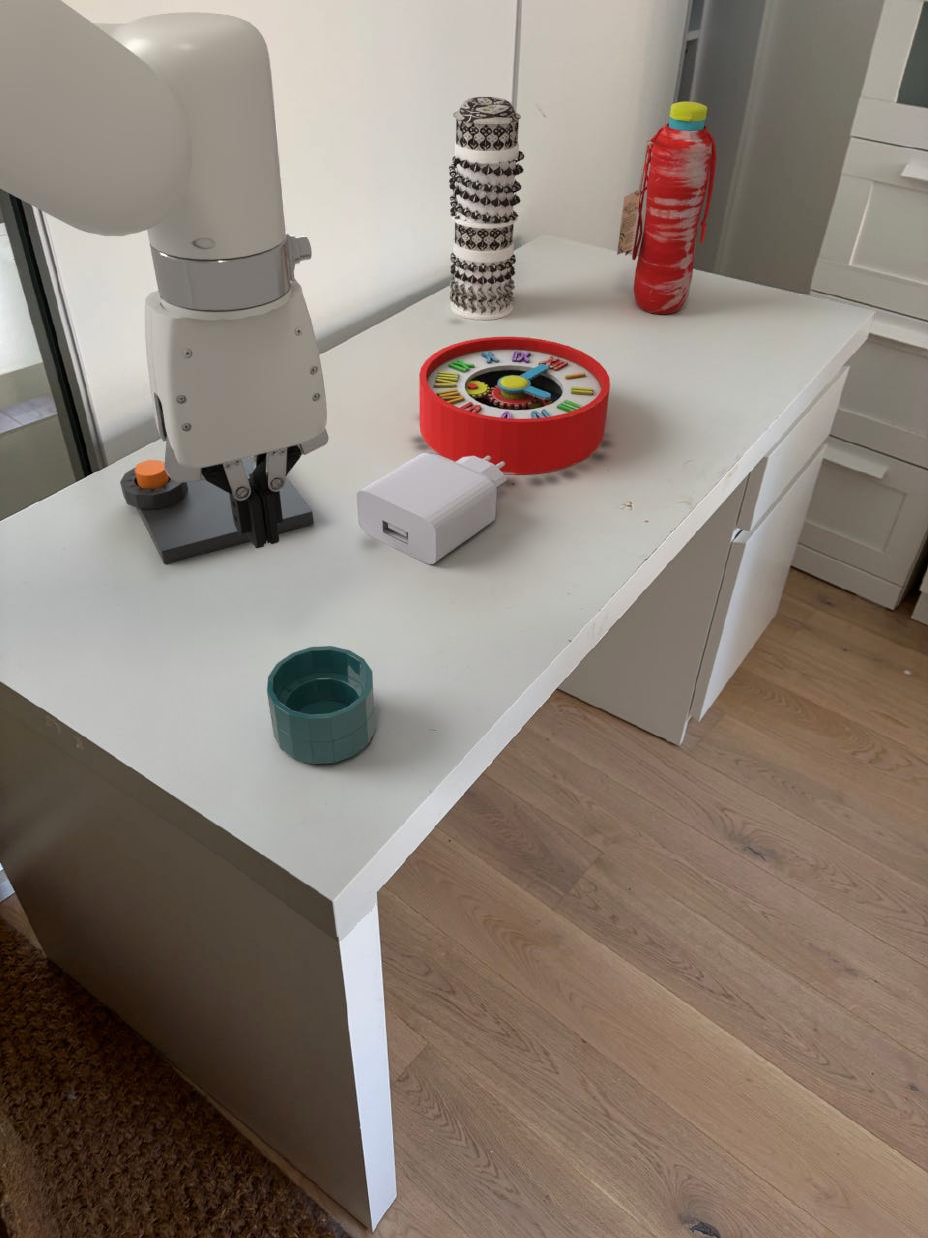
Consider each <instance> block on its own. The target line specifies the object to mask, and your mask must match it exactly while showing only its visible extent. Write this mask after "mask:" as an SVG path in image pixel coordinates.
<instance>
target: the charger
mask: <svg viewBox="0 0 928 1238" xmlns="http://www.w3.org/2000/svg"><path fill="white" fill-rule="evenodd" d="M489 460H491V457H490V456H486V457H485V458H483V459H480V458H478V457H476V456H468V457H463V458H461V459H459V460H458V461H456V462H454V461H452V460H449V459H447V458H445V457H443V456H441V455H439V454H435V453H429V452H422V453H420V454H419V455H418V454H417V455H416V456H415V457H413V458H411V459H410V460H408V461H406V462H405V463H403V464H401V465H399V466H398V467H396V468H395V469H393V470H391V471H390V472H388V473H387V474H385V475H383V476H382V477H379V478H378V479H376V480H375V481H373V482H372V483H370V484H369V485H367V486H364V487H363V488H362V489H360V490H359V491H357V492H356V504H357V505H356V507H357V523H358V526H359V527H360V529H361V530H362V532H364V533H365V534H367V535H368V536H370V537H371V538H373V539H375V540H377V541H379V542H382V543H383V544H386V545H387V546H389V547H391V548H394V549H395V550H397V551H399V552H401V553H403V554H406V555H407V556H410V557H411V558H412V559H413V558H414V559H415V560H418V561H420V562H421V563H424V564H428V565H434V564H436V563H437V562H439V560H441V559H443V558H444V557H445V556H447V555H448V554H449V553H451V552H452V551H454V550H455V549H456V548H458V547H459V546H461V545H462V544H464V543H465V542H466V541H468V540H469V539H470V538H472V537H473V536H475V535H476V534H477V533H479V532H480V531H481V530H483V529H484V528H486V527H487V526H488V525H490V524H491V523H493V522H494V521H495V520H496V513H497V512H496V511H497V494H498V493H497V488H498V487H499V486H500V485H502V484H503V483H505V482H507V480H508V479H507V476H506V474H503V473H502V472H501V471H500V470H499V469H500V468H501V467H503V466H504V465H505V463H504V462H500V463H499V464H497V465H494V464H492V463H490V462H488V461H489Z"/></svg>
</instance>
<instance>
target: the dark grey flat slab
mask: <svg viewBox="0 0 928 1238" xmlns="http://www.w3.org/2000/svg"><path fill="white" fill-rule="evenodd" d="M241 460H242V463H243V466H244V469H245V472H246V476H247V479H249V478H250V477H249V474H251V473H252V472H253V471H254V470H255V469H254V456H251V457H247V458H243V459H241ZM168 477H169V475H168ZM119 483H120V488H121V492H122V497H123V498H124V500H125V502H126V504H127V505H129V506H132V507H133V508H135V509H136V511H137V513H138V514H139V516H140V519H141V520H142V522H143V524H144V526H145V529H146V530H147V532H148V534H149V537H150V538H151V540H152V543H153V544H154V546H155V549H156V551H157V552H158V555H159V556H160V558H161V561H162V563H163V564H164V565H167V564H170V563H173V562H178V561H181V560H185V559H188V558H193V557H197V556H199V555H204V554H207V553H212V552H214V551H218V550H222V549H225V548H230V547H235V546H237V545H240V544H244V543H249V542H251V540H250V539H249V537H248V536H247V534H246V533H245V534H242V535H240V534H239V532H238V531H237V529H236V527H235V524H234V520H233V514H232V508H231V502H230V496H229V493H228V492H226V491H224V490H222V489H220V488H219V487H217V486H215V485H213V484H211V483H209V482H208V481H200V482H180V483H177V482H173V481H172V480H171V479H170V477H169V481H168V483H167V484H165V485H163V486H160V487H156V488H142V487H140V486H139V485H138V482H137V478H136V473H135V467H134V468H132V469H130V470H128V471H126V472H125V473H124V475H123V476H122V478H121V480H120V481H119ZM280 499H281V507H282V516H283V523H281V524H277V527H278V534H281V533H285V532H289V531H293V530H296V529H300V528H304V527H308V526H312V525H314V524H315V521H314V512H313V510H312V508H311V507H310V506H309V505H308V503H307V501H305V499H304V498H303V496H302V494H301V493H300V492H299V491H298V490H297V488H296V487H295V486H294V484H293V483H292V481H291V480H290V479H289V477H288V475H287V476H286V482H285V486H284V488H283V489H282V490H280Z"/></svg>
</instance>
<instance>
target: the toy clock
mask: <svg viewBox="0 0 928 1238" xmlns="http://www.w3.org/2000/svg"><path fill="white" fill-rule="evenodd" d="M418 375H419V377H418V383H419V385H418V386H419V389H418V390H419V391H418V393H419V394H418V396H419V399H418V400H419V403H418V404H419V406H418V407H419V432H420V435H421V436H422V439H423V441H424V443H426V444H427V446H429V448H430V449H431V450H432V451H434V452H435V453H437V455H440V456H442V457H444V458H447V459H449V460H452V461H454V462H456V461H458V460H459V459H461V458H463V457H468V456H476V457H478V458H480V459H483V458H485V457H486V456H490V457H491V460H489V461H488V462H490V463H492V464H494V465H497V464H499V463H500V462H504V463H505V465H504V466H503V467H501V468H500V469H499V470H500V471H501V472H502V473H503V474H504V475H536V474H542V473H543V474H544V473H550V472H551V473H552V472H555V471H559V470H562V469H566V468H568V467H571V466H574V465H578V464H579V463H582V461H585V460H587V459H588V458H590V457H591V456H592V455H593V454H594V453H595V452H597V450H598V449H599V447H600V446H601V445H602V443H603V440H604V437H605V430H606V421H607V413H608V405H609V398H610V388H611V382H610V381H611V379H610V376H609V373H608V371H607V370H606V369H605V367H604V366H603V365H602V364H601V363H600V362H599V361H598V360H597V359H596V358H593V356H591V355H589V354H587V353H586V352H584V351H582V350H579V349H577V348H574V347H572V346H569V345H566V344H563V343H560V342H556V341H551V340H545V339H542V338H541V339H540V338H533V337H526V336H489V337H479V338H474V339H469V340H464V341H460V342H457V343H453V344H450V345H448V346H446V347H443V348H441V349H440V350H438V351H436V352H434V353H432V355H430V356H429V357H428V358H427V359H426V360H425V361H424V362H423V364H422V365H421V367H420V370H419V374H418Z"/></svg>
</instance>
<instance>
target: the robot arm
mask: <svg viewBox="0 0 928 1238" xmlns="http://www.w3.org/2000/svg"><path fill="white" fill-rule="evenodd" d="M269 51H270V50H269V48H268V44H267V42H266V40H265V38H264V36H263V34H262V32H260V30H259V29H258V27H256V26H255V25H253V24H252V22H250V21H247V20H246V19H243V18H240V17H237V16H234V15H230V14H222V13H215V12H214V13H212V12H194V11H193V12H192V11H191V12H187V11H186V12H170V13H169V12H168V13H160V14H154V15H147V16H142V17H140V18H136V19H134V20H132V21H130V22H127V23H99V22H92V21H90V20H89V19H88V18H86V17H85V16H83V15H82V14H80V12H78V11H76V10H75V9H74V8H72V7H71V6H69V5H68V4H67V3H65V2H64V1H63V0H0V190H2V191H4V192H6V193H8V194H9V195H12V196H13V197H16V198H17V199H19V200H20V201H22V202H25V203H26V204H29V206H32V207H35V208H36V209H38V210H40V211H41V212H44V213H46V214H47V215H49V216H50V217H53V218H55V219H57V220H59V221H60V222H62V223H64V224H66V225H68V226H70V227H72V228H75V229H77V230H79V231H81V232H85V233H86V234H87V233H88V234H93V235H97V236H103V237H126V236H131V235H137V234H140V233H142V232H145V231H146V232H147V237H148V243H149V248H150V253H151V254H150V255H151V258H152V264H153V270H154V275H155V281H156V286H157V290H156V291H153V292H150V293H149V294H148V295H147V296H146V297H145V300H144V340H145V353H146V354H145V355H146V365H147V374H148V381H149V390H150V398H151V404H152V405H151V406H152V410H153V417H154V421H155V425H156V429H157V432H158V435H159V437H160V439H161V440H162V442H163V443H164V442H165V455H164V463H165V471H166V472H167V474H168V475H169V477H170V479H171V480H172V481H173V482H177V483H180V482H200V481H208V482H209V483H211V484H213V485H215V486H217V487H219V488H220V489H222V490H224V491H226V492H228V493H229V496H230V502H231V508H232V514H233V520H234V524H235V527H236V529H237V531H238V532H239V534H240V535H242V534H245V533H246V534H247V536H248V537H249V539H250V540H251V541H250V542H251V543H252V544H253V546H254V548H255V549H256V550H257V549H260V548H264V547H265V545H266V544H270V545H274V544H278V543H279V542H280V537H279V533H278V527H277V524H281V523H283V516H282V507H281V499H280V490H282V489H283V488H284V486H285V482H286V476H287V477H288V475H289V473H290V472H291V471H292V470H293V468H294V466H296V463H297V462H298V461H299V460H300V458H301V457H302V456H306V455H308V454H310V453H312V452H314V451H316V450H318V449H320V448H322V447H324V446H326V445H327V444H328V442H329V434H328V432H327V428H326V427H327V422H328V408H327V407H328V406H327V395H326V387H325V382H324V381H325V380H324V375H323V374H324V373H323V369H322V362H321V357H320V352H319V347H318V343H317V338H316V335H315V330H314V325H313V321H312V317H311V313H310V310H309V307H308V303H307V301H306V297H305V294H304V291H303V288H302V286H301V284H300V283H299V282H298V281H297V279H296V278H295V267H296V265H299V264H300V263H301V262H305V261H309V260H311V259H312V255H313V254H312V246H311V241H310V240H309V238H308V236H306V235H303V236H297V237H296V236H295V235H291V234H289V233H288V232H287V222H286V221H287V220H286V210H285V201H284V200H285V199H284V189H283V179H282V167H281V157H280V147H279V136H278V127H277V116H276V106H275V95H274V84H273V73H272V72H273V71H272V66H271V65H272V64H271V59H270V52H269ZM252 456H254V469H255V470H254V471H253V472H252V473H251V474H249V477H250V478H249V479H247V476H246V472H245V469H244V466H243V463H242V460H241V459H243V458H248V457H252Z"/></svg>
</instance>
